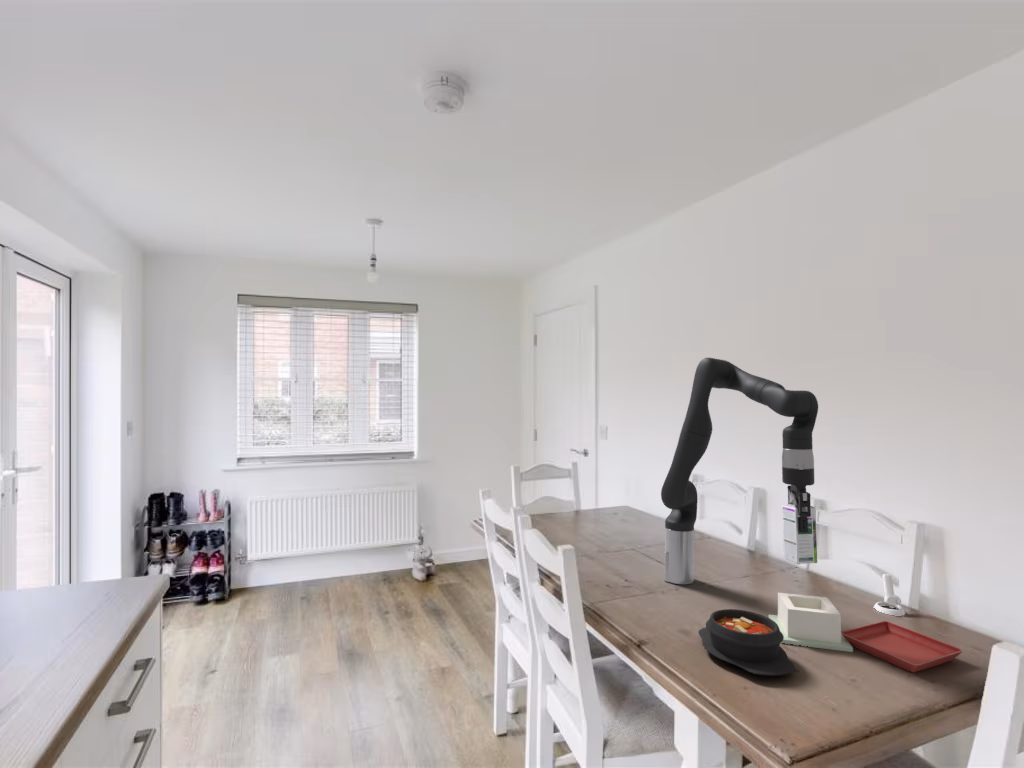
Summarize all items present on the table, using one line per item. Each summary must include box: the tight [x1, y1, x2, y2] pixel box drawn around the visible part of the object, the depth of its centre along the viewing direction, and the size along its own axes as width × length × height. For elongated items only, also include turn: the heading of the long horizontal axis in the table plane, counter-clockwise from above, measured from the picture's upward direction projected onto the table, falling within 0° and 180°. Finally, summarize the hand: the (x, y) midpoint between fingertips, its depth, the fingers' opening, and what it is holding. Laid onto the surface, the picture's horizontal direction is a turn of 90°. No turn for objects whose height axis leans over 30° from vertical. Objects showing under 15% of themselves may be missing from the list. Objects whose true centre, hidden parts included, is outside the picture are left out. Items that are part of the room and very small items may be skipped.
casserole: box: [697, 608, 796, 677], centre depth 129 cm, size 25×19×8 cm
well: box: [767, 592, 854, 653], centre depth 142 cm, size 16×16×8 cm
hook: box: [873, 573, 906, 617], centre depth 160 cm, size 8×12×7 cm
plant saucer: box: [841, 620, 963, 673], centre depth 132 cm, size 18×18×3 cm
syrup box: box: [781, 504, 818, 565], centre depth 143 cm, size 6×6×14 cm
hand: (799, 528), depth 144 cm, fingers closed on syrup box, 7 cm apart
